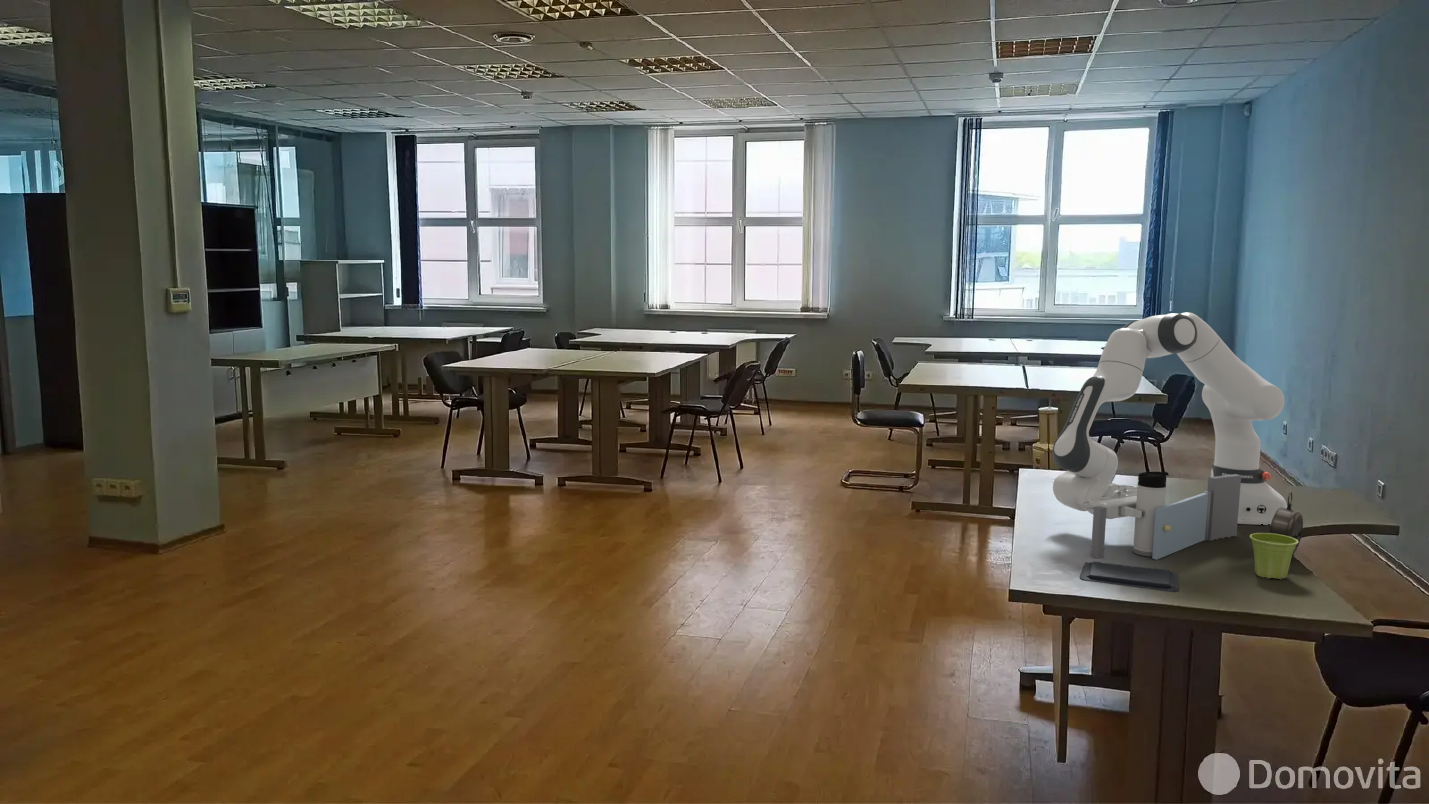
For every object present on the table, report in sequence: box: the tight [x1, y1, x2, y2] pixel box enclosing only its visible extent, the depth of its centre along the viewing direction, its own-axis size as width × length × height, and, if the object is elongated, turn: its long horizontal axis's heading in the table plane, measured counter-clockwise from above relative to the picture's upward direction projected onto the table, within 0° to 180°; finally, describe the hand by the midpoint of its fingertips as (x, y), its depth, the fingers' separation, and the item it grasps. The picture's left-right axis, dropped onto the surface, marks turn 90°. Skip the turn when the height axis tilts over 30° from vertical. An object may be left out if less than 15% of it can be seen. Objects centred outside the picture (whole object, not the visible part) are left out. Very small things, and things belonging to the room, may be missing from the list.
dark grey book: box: [1079, 561, 1180, 593], centre depth 217 cm, size 20×2×15 cm
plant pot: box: [1249, 532, 1298, 579], centre depth 218 cm, size 9×9×9 cm
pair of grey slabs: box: [1090, 474, 1241, 559], centre depth 242 cm, size 49×2×16 cm, turn 116°
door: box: [1151, 490, 1211, 561], centre depth 238 cm, size 29×2×12 cm, turn 132°
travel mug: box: [1132, 471, 1170, 558], centre depth 234 cm, size 6×7×20 cm
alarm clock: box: [1268, 490, 1304, 561], centre depth 232 cm, size 11×5×16 cm, turn 135°
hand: (1154, 512), depth 233 cm, fingers closed on travel mug, 6 cm apart
